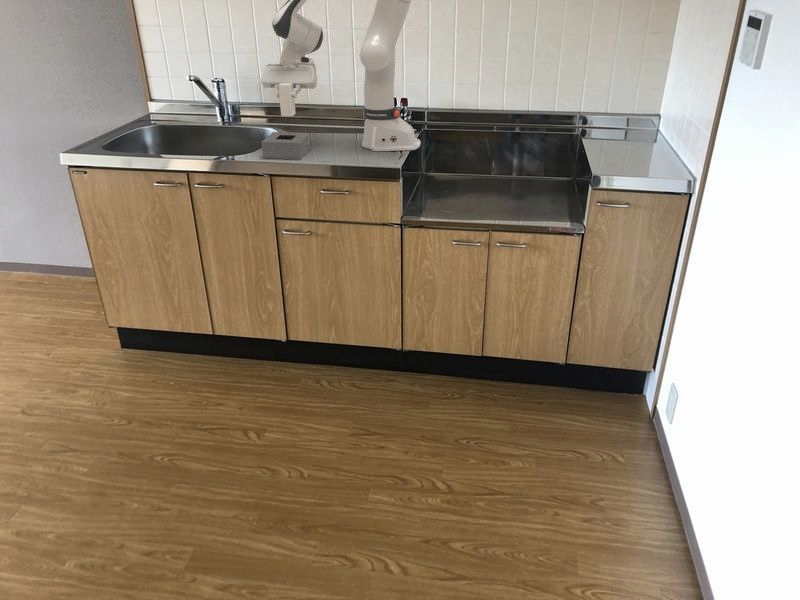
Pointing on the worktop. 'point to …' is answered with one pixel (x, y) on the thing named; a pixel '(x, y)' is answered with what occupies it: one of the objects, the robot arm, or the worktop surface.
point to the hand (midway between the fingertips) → (286, 97)
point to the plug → (286, 99)
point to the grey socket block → (286, 145)
